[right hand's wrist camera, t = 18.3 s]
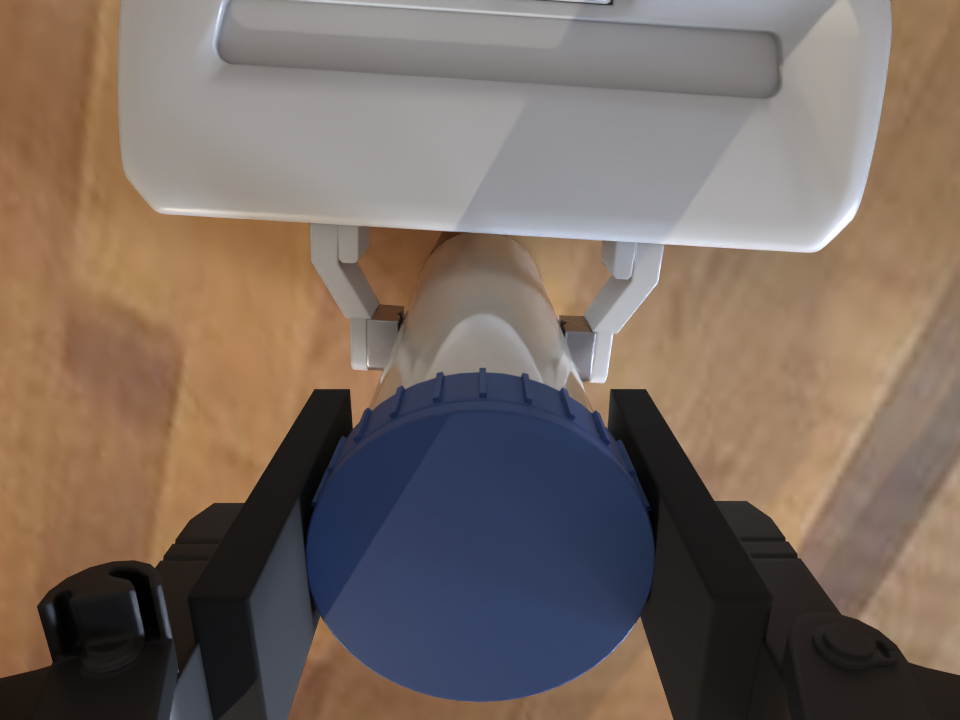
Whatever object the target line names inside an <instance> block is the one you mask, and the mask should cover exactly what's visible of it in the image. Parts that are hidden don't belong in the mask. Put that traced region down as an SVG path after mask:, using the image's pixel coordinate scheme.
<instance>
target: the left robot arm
mask: <svg viewBox="0 0 960 720" xmlns="http://www.w3.org/2000/svg"><path fill="white" fill-rule="evenodd" d="M891 38H892V9H891V2H890V0H120V13H119V34H118V121H119V138H120V152H121V161H122V166H123V170H124V173H125V175H126V177H127V179H128V180H129V181H130V183H131V184H132V185H133V186H134V188H135V189H136V190H137V191H138V192H139V194H140V195H141V196H142V197H143V199H144V200H145V201H146V202H147V203H148V204H149V205H150V206H151V208H152V209H154V210H155V211H156V212H159V213H162V214H171V215H186V216H203V217H220V218H236V219H253V220H270V221H286V222H303V223H310V241H311V262H312V264H313V265H314V267H315V269H316V270H317V272H318V273H319V275H320V277H321V278H322V280H323V282H324V283H325V285H326V286H327V288H328V290H329V291H330V293H331V294H332V296H333V298H334V299H335V301H336V303H337V304H338V306H339V307H340V309H341V311H342V312H343V314H344V315H345V317H346V318H350V350H351V366H352V369H357V370H384V367H385V365H386V362H387V359H388V357H389V354H390V352H391V349H392V347H393V344H394V341H395V339H396V336H397V334H398V331H399V329H400V326H401V323H402V321H403V318H404V306H393V305H381V304H380V303H379V301H378V299H377V297H376V295H375V293H374V292H373V290H372V288H371V286H370V284H369V282H368V281H367V279H366V277H365V275H364V273H363V271H362V269H361V268H360V266H359V264H358V262H357V261H358V260H359V258H360V257H361V256H362V255H363V254H364V253H365V252H366V251H367V250H368V248H369V247H370V227H387V228H403V229H420V230H437V231H453V232H470V233H487V234H504V235H520V236H537V237H554V238H570V239H587V240H603V241H602V250H601V260H600V261H601V262H602V263H603V265H604V266H605V267H606V268H607V269H608V270H609V272H610V273H611V274H612V275H611V277H610V278H609V279H608V281H607V282H606V284H605V285H604V287H603V288H602V289H601V291H600V292H599V294H598V295H597V296H596V298H595V299H594V301H593V302H592V303H591V305H590V306H589V308H588V309H587V310H586V312H585V313H584V316H565V315H559V324H560V327H561V329H562V332H563V334H564V337H565V340H566V342H567V345H568V347H569V350H570V353H571V355H572V358H573V360H574V363H575V365H576V368H577V371H578V373H579V376H580V378H581V381H582V382H590V383H604V382H605V381H606V378H607V374H608V366H609V359H610V352H611V344H612V337H613V333H618V332H619V330H620V329H621V328H622V327H623V325H624V324H625V323H626V322H627V320H628V319H629V318H630V317H631V316H632V314H633V313H634V312H635V311H636V309H637V308H638V307H639V306H640V304H641V303H642V302H643V301H644V299H645V298H646V297H647V296H648V294H649V293H650V292H651V291H652V289H653V288H654V287H655V286H656V285H657V283H658V280H659V274H660V268H661V262H662V256H663V249H664V244H671V245H687V246H704V247H721V248H737V249H754V250H771V251H788V252H805V253H812V252H817V251H819V250H821V249H822V248H823V247H824V246H826V245H827V244H828V243H829V242H830V241H831V240H832V239H834V238H835V237H836V236H837V235H838V234H839V233H840V232H841V231H842V230H843V229H844V228H845V227H846V226H847V225H848V224H849V223H850V222H851V221H852V219H853V218H854V216H855V215H856V213H857V210H858V208H859V205H860V203H861V200H862V196H863V193H864V189H865V185H866V182H867V178H868V173H869V169H870V165H871V160H872V156H873V152H874V147H875V142H876V137H877V132H878V127H879V122H880V116H881V110H882V104H883V98H884V92H885V86H886V79H887V72H888V65H889V57H890V48H891Z"/></svg>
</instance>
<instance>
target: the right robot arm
mask: <svg viewBox="0 0 960 720" xmlns="http://www.w3.org/2000/svg"><path fill="white" fill-rule="evenodd" d="M352 430H353V426H352V413H351V399H350V389H315V390H314V391H313V393H312V394H311V396H310V398H309V399H308V401H307V403H306V404H305V406H304V407H303V409H302V411H301V412H300V414H299V416H298V417H297V419H296V421H295V422H294V424H293V425H292V427H291V429H290V430H289V432H288V434H287V435H286V437H285V438H284V440H283V442H282V443H281V445H280V447H279V448H278V450H277V452H276V453H275V455H274V456H273V458H272V460H271V461H270V463H269V465H268V466H267V468H266V469H265V471H264V473H263V474H262V476H261V478H260V479H259V481H258V483H257V484H256V486H255V487H254V489H253V491H252V492H251V494H250V496H249V497H248V499H247V500H246V502H245V503H214V504H212V505H211V506H209V507H208V508H206V509H205V510H204V511H202V512H201V513H199V514H198V515H196V516H195V517H194V518H192V519H191V520H190V521H189V522H188V523H187V525H186V526H185V528H184V529H183V530H182V532H181V533H180V534H179V536H178V537H177V539H176V542H175V544H172V546H171V547H170V548H169V550H168V551H167V552H166V554H165V555H164V559H163V561H160V562H159V563H158V565H157V566H156V568H154V567H153V566H152V565H151V564H147V563H143V562H138V561H134V560H133V561H114V562H109V563H105V564H102V565H98V566H94V567H90V568H88V569H85V570H83V571H81V572H79V573H77V574H75V575H72V576H70V577H68V578H66V579H65V580H64V581H62V582H61V583H60V584H58V585H57V586H55V587H54V588H53V589H51V590H50V591H49V592H48V593H47V594H46V595H45V597H44V598H43V599H42V601H41V602H40V603H39V604H38V606H37V608H38V612H39V615H40V619H41V622H42V626H43V629H44V633H45V636H46V640H47V643H48V647H49V650H50V654H51V657H52V661H53V663H52V665H51V666H48V667H45V668H41V669H38V670H34V671H30V672H26V673H21V674H17V675H13V676H8V677H4V678H0V720H287V718H288V714H289V711H290V708H291V705H292V702H293V699H294V696H295V693H296V690H297V687H298V683H299V680H300V677H301V674H302V671H303V668H304V665H305V662H306V659H307V655H308V652H309V649H310V646H311V643H312V640H313V637H314V634H315V631H316V627H317V624H318V621H319V618H320V613H319V611H318V609H317V607H316V605H315V602H314V600H313V597H312V594H311V591H310V588H309V584H308V577H307V569H306V558H305V544H306V537H307V530H308V526H309V522H310V519H311V516H312V512H313V509H314V508H313V507H311V503H312V500H313V498H314V496H315V494H316V491H317V489H318V487H319V485H320V482H321V480H322V478H323V476H324V473H325V471H326V469H327V468H328V466H329V463H330V461H331V459H332V456H333V454H334V452H335V450H336V447H337V445H338V443H339V441H340V439H341V437H342V436H343V437H345V438H347V437H348V436H349V434H350V433H351V431H352ZM608 430H609V432H610V433H611V434H612V436H613V437H614V439H615V441H618V440H621V441H622V443H623V444H624V447H625V449H626V451H627V453H628V456H629V458H630V460H631V463H632V465H633V467H634V469H635V472H636V474H637V477H638V480H639V482H640V484H641V486H642V489H643V491H644V493H645V495H646V498H647V500H648V502H649V505H650V508H651V511H648V513H649V516H650V520H651V523H652V527H653V531H654V539H655V547H656V553H655V564H654V573H653V581H652V587H651V591H650V593H649V596H648V599H647V602H646V604H645V607H644V609H643V611H642V613H641V615H640V617H641V620H642V623H643V626H644V629H645V632H646V636H647V639H648V642H649V645H650V648H651V651H652V654H653V657H654V660H655V664H656V667H657V670H658V673H659V676H660V679H661V682H662V685H663V688H664V692H665V695H666V698H667V701H668V704H669V707H670V710H671V713H672V716H673V719H674V720H960V675H955V674H951V673H947V672H943V671H938V670H934V669H930V668H925V667H922V666H919V665H915V664H912V663H909V662H907V660H906V659H905V657H904V656H903V654H902V653H901V651H900V650H899V648H898V647H897V645H896V644H894V643H893V642H892V641H891V640H890V639H888V638H887V637H886V636H885V635H884V634H882V633H881V632H880V631H879V630H877V629H875V628H873V627H871V626H869V625H867V624H865V623H863V622H861V621H859V620H857V619H854V618H850V617H847V616H844V615H841V613H840V612H839V611H838V609H837V608H836V607H835V605H834V604H833V602H832V601H831V600H830V598H829V597H828V596H827V594H826V593H825V591H824V590H823V589H822V587H821V586H820V585H819V583H818V582H817V581H816V579H815V578H814V576H813V575H812V574H811V572H810V571H809V570H808V568H807V567H806V565H805V564H804V563H803V561H802V560H801V559H798V557H797V553H796V552H795V550H794V549H793V548H792V546H791V545H790V544H789V542H786V541H785V537H784V535H783V534H782V533H781V531H780V530H779V528H778V527H777V526H776V524H775V523H774V522H773V520H772V519H771V518H770V517H769V516H767V515H766V514H764V513H763V512H762V511H760V510H759V509H757V508H756V507H754V506H753V505H752V504H750V503H749V502H747V501H714V500H713V498H712V496H711V495H710V493H709V492H708V490H707V488H706V487H705V485H704V483H703V482H702V480H701V479H700V477H699V475H698V474H697V472H696V470H695V469H694V467H693V466H692V464H691V462H690V461H689V459H688V457H687V456H686V454H685V452H684V451H683V449H682V448H681V446H680V444H679V443H678V441H677V439H676V438H675V436H674V435H673V433H672V431H671V430H670V428H669V426H668V425H667V423H666V422H665V420H664V418H663V417H662V415H661V413H660V412H659V410H658V408H657V407H656V405H655V404H654V402H653V400H652V399H651V397H650V395H649V394H648V392H647V391H646V389H611V391H610V404H609V418H608Z"/></svg>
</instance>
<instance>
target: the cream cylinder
mask: <svg viewBox="0 0 960 720" xmlns="http://www.w3.org/2000/svg"><path fill="white" fill-rule="evenodd" d="M479 368H486V372H490V373H504V374H509V375H514V376H519V377H521V376H522V373H526V374H528V375H529V379H531V380H534V381H537V382H540V383H543V384H546V385H548V386H550V387H552V388H554V389H556V390H559V391H560V390H561V388H562V387H563V388H565V389H567V390H568V393H569V397H571V398H573V399H574V400H576V401H577V402H579V403H580V404H582V405H583V406H584V407H585V408H587V409H588V410H589V411H590V412H591V413H593V409H592V407H591V404H590V402H589V399H588V396H587V394H586V391H585V389H584V386H583V384H582V381H581V378H580V376H579V373H578V371H577V368H576V365H575V363H574V360H573V358H572V355H571V353H570V350H569V347H568V345H567V342H566V340H565V337H564V334H563V332H562V329H561V327H560V324H559V322H558V319H557V316H556V314H555V311H554V309H553V306H552V304H551V301H550V298H549V296H548V293H547V291H546V288H545V285H544V283H543V280H542V278H541V275H540V273H539V270H538V268H537V266H536V264H535V262H534V260H533V259H532V257H531V256H530V254H529V253H528V252H527V251H526V250H525V249H524V248H523V247H522V246H521V245H520V244H518V243H517V242H515V241H514V240H512V239H510V238H508V237H506V236H504V235H501V234H487V233H470V232H467V233H462V234H460V235H457V236H454V237H452V238H450V239H448V240H447V241H445V242H444V243H443V244H441V245H440V246H439V247H438V248H437V249H436V250H435V251H434V252H433V253H432V254H431V255H430V257H429V258H428V260H427V261H426V263H425V265H424V267H423V269H422V272H421V274H420V277H419V279H418V282H417V285H416V287H415V290H414V292H413V295H412V298H411V300H410V303H409V305H408V308H407V310H406V313H405V316H404V318H403V321H402V323H401V326H400V329H399V331H398V334H397V336H396V339H395V341H394V344H393V347H392V349H391V352H390V354H389V357H388V359H387V362H386V365H385V367H384V370H383V372H382V375H381V378H380V380H379V383H378V385H377V388H376V390H375V393H374V396H373V398H372V401H371V403H370V406H369V408H370V409H371V410H373V409H374V408H375V407H377V406H378V405H379V404H380V403H382V402H383V401H385V400H387V399H388V398H390V397H391V396H393V395H395V393H396V390H397V388H398V387H400V386H403V387H404V389H406V388H409V387H411V386H413V385H415V384H417V383H420V382H424V381H427V380H430V379H433V378H436V374H437V373H439V372H443V375H444V376H446V375H452V374H458V373H472V372H479Z"/></svg>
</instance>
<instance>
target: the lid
mask: <svg viewBox="0 0 960 720" xmlns="http://www.w3.org/2000/svg"><path fill="white" fill-rule="evenodd" d="M311 507H313V508H314V509H313V512H312V516H311V519H310V522H309V526H308V530H307V537H306V544H305V558H306V569H307V577H308V584H309V588H310V591H311V594H312V597H313V600H314V602H315V605H316V607H317V609H318V611H319V613H320V615H321V617H322V619H323V621H324V622H325V624H326V625H327V627H328V628H329V630H330V631H331V632H332V634H333V635H334V637H335V638H336V639H337V640H338V641H339V642H340V643H341V644H342V646H343V647H344V648H345V649H346V650H347V651H348V652H349V653H350V654H351V655H353V656H354V657H355V658H356V659H357V660H359V661H360V662H361V663H362V664H363V665H365V666H366V667H368V668H369V669H371V670H372V671H374V672H375V673H377V674H378V675H380V676H382V677H384V678H386V679H388V680H390V681H392V682H394V683H396V684H398V685H400V686H403V687H405V688H408V689H411V690H413V691H416V692H419V693H423V694H426V695H430V696H434V697H438V698H444V699H451V700H457V701H473V702H487V701H503V700H510V699H517V698H523V697H527V696H531V695H535V694H539V693H542V692H545V691H547V690H550V689H553V688H556V687H558V686H561V685H563V684H565V683H567V682H569V681H571V680H573V679H575V678H577V677H579V676H581V675H582V674H584V673H585V672H587V671H588V670H590V669H592V668H593V667H595V666H596V665H597V664H598V663H600V662H601V661H602V660H603V659H605V658H606V657H607V656H608V655H609V654H611V653H612V652H613V651H614V650H615V648H616V647H617V646H618V645H619V644H620V643H621V642H622V641H623V640H624V639H625V638H626V636H627V635H628V633H629V632H630V631H631V629H632V628H633V627H634V625H635V624H636V622H637V620H638V618H639V616H640V615H641V613H642V611H643V609H644V607H645V604H646V602H647V599H648V596H649V593H650V591H651V587H652V581H653V573H654V564H655V553H656V547H655V539H654V531H653V527H652V523H651V520H650V516H649V513H648V511H651V508H650V505H649V502H648V500H647V498H646V495H645V493H644V491H643V489H642V486H641V484H640V482H639V480H638V477H637V474H636V472H635V469H634V467H633V465H632V463H631V460H630V458H629V456H628V453H627V451H626V449H625V447H624V444H623V443H622V441H621V440H618V441H615V439H614V437H613V436H612V434H611V433H610V432H609V430H608V429H607V428H606V427H605V426H604V423H603V421H602V418H601V416H600V414H599V413H598V412H597V411H596V410H595V411H594V412H593V413H591V412H590V411H589V410H588V409H587V408H585V407H584V406H583V405H582V404H580V403H579V402H577V401H576V400H574V399H573V398H571V397H569V393H568V390H567V389H565V388H563V387H562V388H561V390H560V391H559V390H556V389H554V388H552V387H550V386H548V385H546V384H543V383H540V382H537V381H534V380H531V379H529V375H528V374H526V373H522V376H521V377H519V376H514V375H509V374H504V373H490V372H486V368H479V372H472V373H458V374H452V375H446V376H444V375H443V372H439V373H437V374H436V378H433V379H430V380H427V381H424V382H420V383H417V384H415V385H413V386H411V387H409V388H406V389H404V387H403V386H400V387H398V388H397V390H396V393H395V395H393V396H391V397H390V398H388V399H387V400H385V401H383V402H382V403H380V404H379V405H378V406H377V407H375V408H374V409H373V410H371V409H370V408H367V409H366V410H365V411H364V413H363V415H362V418H361V420H360V422H359V423H358V424H357V426H356V427H355V428H354V429H353V430H352V431H351V433H350V434H349V436H348V437H347V438H345V437H343V436H342V437H341V439H340V441H339V443H338V445H337V447H336V450H335V452H334V454H333V456H332V459H331V461H330V463H329V466H328V468H327V469H326V471H325V473H324V476H323V478H322V480H321V482H320V485H319V487H318V489H317V491H316V494H315V496H314V498H313V500H312V503H311Z"/></svg>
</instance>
